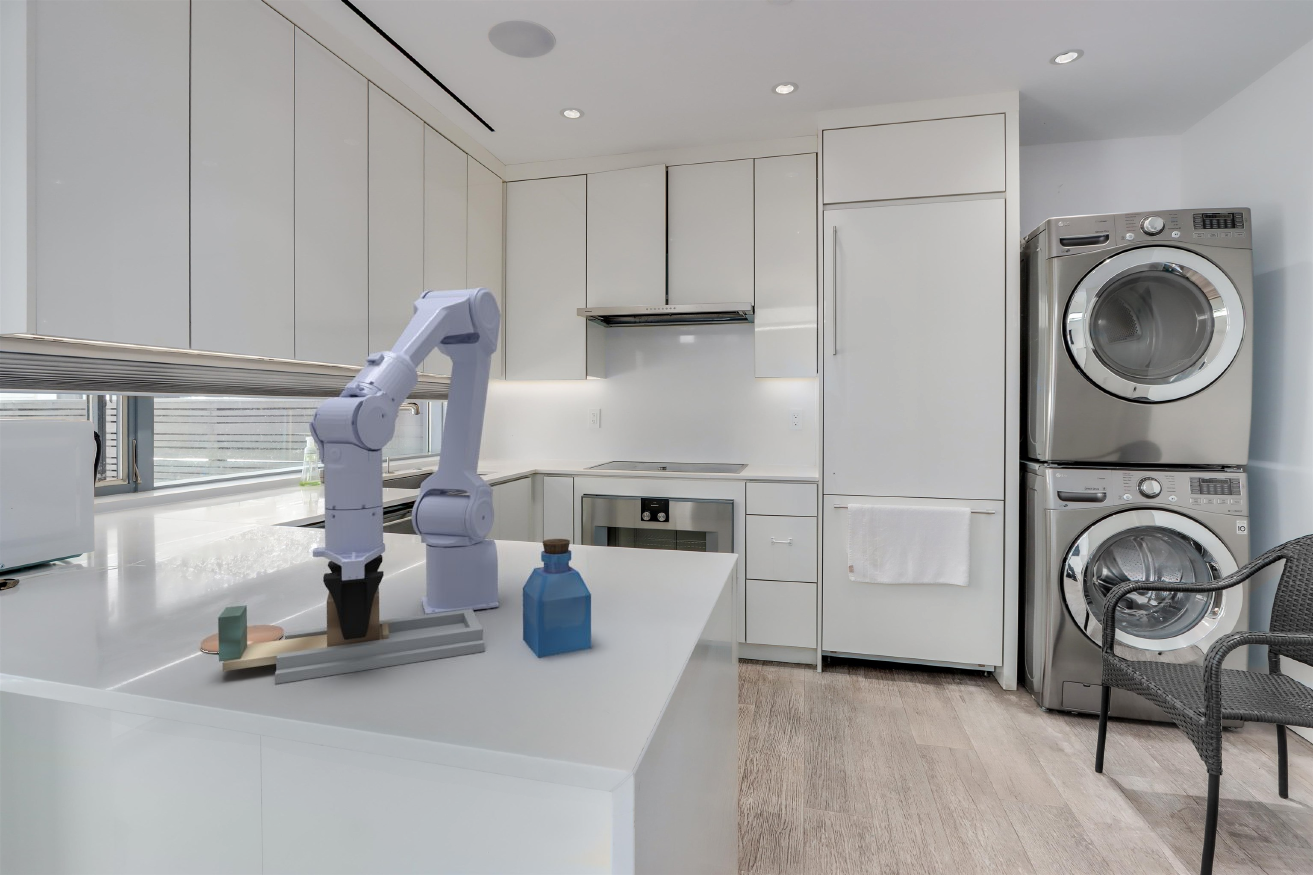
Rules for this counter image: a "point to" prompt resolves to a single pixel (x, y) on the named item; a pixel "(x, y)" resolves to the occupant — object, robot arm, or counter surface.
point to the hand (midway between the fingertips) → (355, 629)
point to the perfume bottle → (556, 604)
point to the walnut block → (335, 630)
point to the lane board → (386, 646)
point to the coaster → (253, 636)
